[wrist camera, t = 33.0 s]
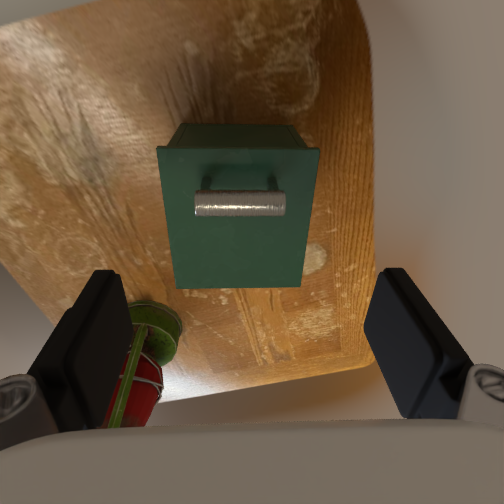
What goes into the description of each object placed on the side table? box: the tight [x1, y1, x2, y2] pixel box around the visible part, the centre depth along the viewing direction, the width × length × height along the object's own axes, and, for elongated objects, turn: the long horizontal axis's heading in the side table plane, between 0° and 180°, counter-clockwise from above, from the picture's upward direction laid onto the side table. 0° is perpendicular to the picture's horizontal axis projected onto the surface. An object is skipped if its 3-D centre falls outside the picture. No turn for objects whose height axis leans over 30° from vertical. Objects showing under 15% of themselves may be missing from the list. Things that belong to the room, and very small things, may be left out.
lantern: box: [96, 301, 182, 429], centre depth 38 cm, size 14×11×30 cm
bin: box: [167, 123, 308, 147], centre depth 33 cm, size 13×12×12 cm
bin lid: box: [156, 146, 320, 289], centre depth 26 cm, size 14×12×5 cm
